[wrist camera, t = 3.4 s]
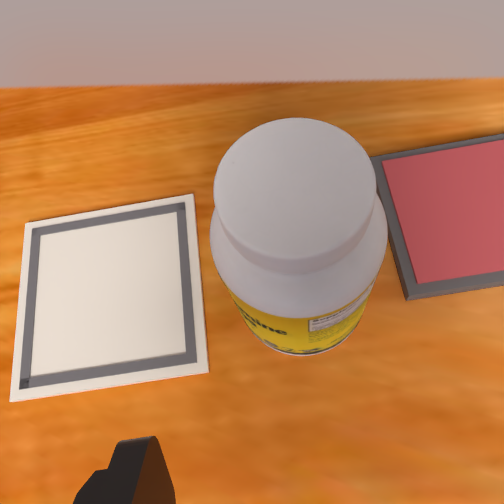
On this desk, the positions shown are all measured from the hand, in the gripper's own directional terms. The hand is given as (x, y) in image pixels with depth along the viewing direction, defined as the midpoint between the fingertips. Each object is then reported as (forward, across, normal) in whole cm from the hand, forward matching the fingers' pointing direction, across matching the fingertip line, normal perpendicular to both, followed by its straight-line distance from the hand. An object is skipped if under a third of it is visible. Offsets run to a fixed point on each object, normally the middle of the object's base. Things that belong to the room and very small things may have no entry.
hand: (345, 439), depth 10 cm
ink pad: (+15, -9, +1) cm, 18 cm away
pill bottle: (+13, 0, +4) cm, 14 cm away
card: (+14, +10, +2) cm, 18 cm away
